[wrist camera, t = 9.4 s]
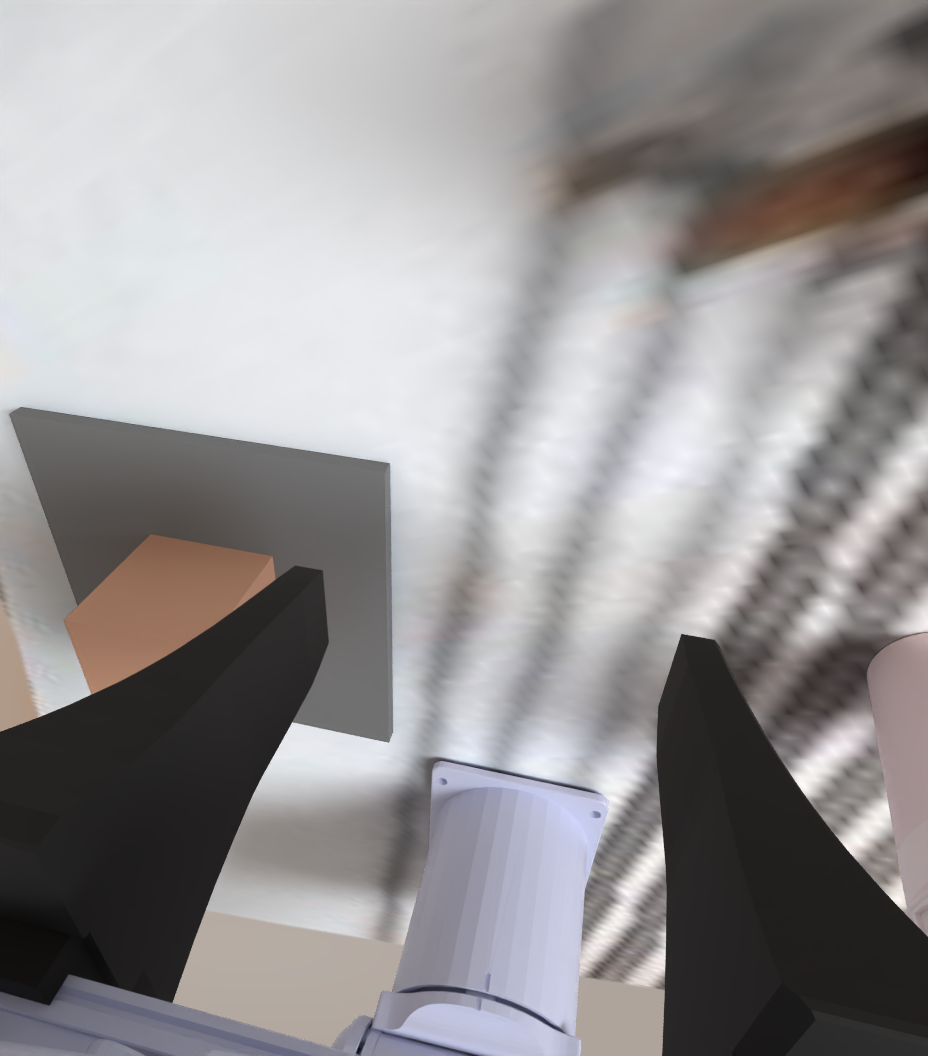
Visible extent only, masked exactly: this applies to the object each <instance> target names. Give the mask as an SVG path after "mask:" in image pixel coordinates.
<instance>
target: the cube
mask: <svg viewBox="0 0 928 1056" xmlns="http://www.w3.org/2000/svg"><path fill="white" fill-rule="evenodd" d="M274 580H276V579H275V571H274V563H273V556H269V555H263V554H257V553H252V552H246V551H241V550H235V549H230V548H224V547H219V546H213V545H208V544H202V543H197V542H191V541H186V540H180V539H175V538H169V537H164V536H158V535H153V534H151V535H150V536H149V537H148V538H147V539H146V540H145V541H143V542H142V543H141V544H140V545H139V546H138V547H137V548H136V549H135V550H134V551H133V552H132V553H131V554H130V555H129V556H128V557H127V558H126V559H125V560H124V561H123V562H122V563H121V564H120V565H119V566H118V567H117V568H116V569H115V570H114V571H113V572H112V573H111V574H110V575H109V576H108V577H107V578H106V579H105V580H104V581H103V582H102V583H101V584H100V585H99V586H98V587H97V588H96V589H95V590H94V591H93V592H92V593H91V594H90V595H89V596H88V597H87V598H86V599H85V600H84V601H82V602H81V603H80V604H79V605H78V606H77V607H76V608H75V609H74V610H73V611H72V612H71V613H70V614H69V615H68V616H67V617H66V618H65V619H64V622H65V625H66V627H67V630H68V633H69V635H70V638H71V641H72V643H73V646H74V649H75V651H76V654H77V657H78V659H79V662H80V665H81V667H82V670H83V673H84V676H85V678H86V681H87V684H88V686H89V689H90V692H91V694H94V693H96V692H98V691H100V690H102V689H105V688H107V687H109V686H111V685H113V684H115V683H117V682H119V681H121V680H123V679H125V678H127V677H129V676H131V675H133V674H135V673H137V672H138V671H140V670H142V669H144V668H146V667H148V666H149V665H151V664H153V663H155V662H156V661H158V660H160V659H162V658H163V657H165V656H167V655H168V654H170V653H172V652H173V651H175V650H177V649H178V648H180V647H181V646H183V645H184V644H186V643H187V642H189V641H190V640H192V639H193V638H195V637H196V636H198V635H200V634H201V633H203V632H204V631H206V630H207V629H209V628H210V627H212V626H213V625H214V624H216V623H217V622H219V621H220V620H221V619H223V618H224V617H226V616H227V615H228V614H230V613H231V612H233V611H234V610H235V609H237V608H238V607H240V606H241V605H242V604H244V603H245V602H246V601H248V600H249V599H250V598H252V597H253V596H254V595H256V594H257V593H258V592H260V591H261V590H262V589H264V588H265V587H266V586H268V585H269V584H270V583H272V582H273V581H274Z"/></svg>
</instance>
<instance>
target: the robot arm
mask: <svg viewBox="0 0 928 1056" xmlns="http://www.w3.org/2000/svg"><path fill="white" fill-rule="evenodd" d="M328 644H329V638H328V626H327V614H326V602H325V590H324V578H323V570H318V569H312V568H307V567H301V566H296V565H295V566H293V567H292V568H291V569H289V570H288V571H287V572H285V573H284V574H282V575H281V576H280V577H278V578H277V579H276V580H274V581H273V582H272V583H270V584H269V585H268V586H266V587H265V588H264V589H262V590H261V591H260V592H258V593H257V594H256V595H254V596H253V597H252V598H250V599H249V600H248V601H246V602H245V603H244V604H242V605H241V606H240V607H238V608H237V609H235V610H234V611H233V612H231V613H230V614H228V615H227V616H226V617H224V618H223V619H221V620H220V621H219V622H217V623H216V624H214V625H213V626H212V627H210V628H209V629H207V630H206V631H204V632H203V633H201V634H200V635H198V636H196V637H195V638H193V639H192V640H190V641H189V642H187V643H186V644H184V645H183V646H181V647H180V648H178V649H177V650H175V651H173V652H172V653H170V654H168V655H167V656H165V657H163V658H162V659H160V660H158V661H156V662H155V663H153V664H151V665H149V666H148V667H146V668H144V669H142V670H140V671H138V672H137V673H135V674H133V675H131V676H129V677H127V678H125V679H123V680H121V681H119V682H117V683H115V684H113V685H111V686H109V687H107V688H105V689H102V690H100V691H98V692H96V693H94V694H92V695H90V696H88V697H85V698H83V699H81V700H79V701H77V702H75V703H73V704H70V705H68V706H66V707H63V708H61V709H58V710H56V711H53V712H51V713H49V714H46V715H44V716H41V717H39V718H36V719H33V720H31V721H28V722H25V723H23V724H20V725H18V726H15V727H12V728H9V729H7V730H4V731H1V732H0V1056H580V1052H581V1040H580V1038H578V1037H575V1028H576V1013H577V998H578V982H579V967H580V952H581V937H582V922H583V907H584V892H585V887H586V883H587V880H588V877H589V873H590V870H591V867H592V863H593V860H594V856H595V853H596V850H597V846H598V843H599V840H600V836H601V833H602V829H603V826H604V823H605V819H606V816H607V813H608V807H609V801H608V799H607V798H606V797H604V796H603V795H600V794H596V793H591V792H586V791H581V790H577V789H572V788H567V787H563V786H558V785H553V784H549V783H544V782H539V781H534V780H530V779H525V778H520V777H516V776H511V775H506V774H502V773H497V772H492V771H487V770H483V769H478V768H473V767H469V766H464V765H459V764H455V763H450V762H445V761H439V762H436V763H435V764H434V766H433V769H432V780H431V804H430V828H429V853H428V857H427V861H426V864H425V868H424V872H423V876H422V880H421V883H420V887H419V891H418V895H417V898H416V902H415V906H414V910H413V914H412V917H411V921H410V925H409V929H408V933H407V936H406V940H405V944H404V948H403V951H402V956H401V959H400V963H399V967H398V971H397V974H396V978H395V982H394V986H393V989H392V992H389V991H382V992H381V994H380V998H379V1001H378V1005H377V1009H376V1012H375V1016H374V1019H373V1018H371V1017H368V1016H365V1015H362V1016H358V1017H357V1018H356V1019H355V1020H354V1021H353V1022H352V1024H351V1025H349V1026H348V1027H347V1028H346V1029H344V1030H343V1031H342V1032H341V1033H340V1034H339V1035H338V1037H337V1038H336V1040H335V1042H334V1043H333V1045H332V1047H328V1046H324V1045H321V1044H317V1043H314V1042H310V1041H306V1040H303V1039H299V1038H296V1037H292V1036H289V1035H285V1034H281V1033H277V1032H274V1031H271V1030H267V1029H263V1028H259V1027H256V1026H252V1025H249V1024H245V1023H242V1022H238V1021H235V1020H231V1019H227V1018H224V1017H220V1016H217V1015H213V1014H209V1013H206V1012H202V1011H199V1010H195V1009H191V1008H188V1007H184V1006H181V1005H177V1004H173V1003H172V1002H173V1000H174V997H175V994H176V991H177V988H178V985H179V982H180V979H181V977H182V974H183V971H184V968H185V965H186V962H187V959H188V957H189V953H190V951H191V948H192V945H193V942H194V939H195V937H196V934H197V932H198V929H199V926H200V923H201V921H202V918H203V915H204V913H205V910H206V908H207V905H208V902H209V900H210V897H211V894H212V892H213V889H214V887H215V884H216V882H217V879H218V877H219V874H220V872H221V869H222V867H223V864H224V862H225V859H226V857H227V854H228V852H229V849H230V847H231V844H232V842H233V840H234V837H235V835H236V833H237V830H238V828H239V826H240V823H241V821H242V819H243V816H244V814H245V812H246V809H247V807H248V805H249V802H250V800H251V798H252V796H253V794H254V792H255V790H256V788H257V786H258V784H259V782H260V780H261V778H262V776H263V774H264V772H265V770H266V768H267V767H268V765H269V763H270V761H271V759H272V758H273V756H274V754H275V752H276V750H277V749H278V747H279V745H280V743H281V741H282V740H283V738H284V736H285V734H286V732H287V731H288V729H289V727H290V725H291V723H292V722H293V720H294V718H295V716H296V714H297V713H298V711H299V709H300V707H301V705H302V703H303V702H304V700H305V698H306V696H307V694H308V692H309V690H310V689H311V687H312V685H313V682H314V680H315V677H316V675H317V672H318V670H319V668H320V665H321V662H322V660H323V657H324V654H325V652H326V649H327V646H328ZM657 768H658V781H659V793H660V805H661V817H662V828H663V840H664V852H665V864H666V884H667V914H666V966H665V1002H664V1026H663V1052H662V1056H928V936H927V935H926V934H925V933H924V932H923V931H922V930H921V929H920V928H919V927H918V926H917V925H916V924H915V923H914V922H913V921H912V920H911V919H910V918H909V917H908V916H907V915H906V914H905V913H904V912H903V911H902V910H901V909H900V908H899V907H898V906H897V905H896V904H895V903H894V902H893V901H892V900H891V899H890V898H889V896H888V895H887V894H886V893H885V892H884V891H883V890H882V889H881V888H880V887H879V885H878V884H877V883H876V882H875V881H874V880H873V879H872V878H871V876H870V875H869V874H868V873H867V872H866V871H865V870H864V869H863V867H862V866H861V865H860V864H859V863H858V862H857V861H856V860H855V858H854V857H853V856H852V855H851V854H850V853H849V852H848V851H847V849H846V848H845V847H844V846H843V844H842V843H841V842H840V841H839V839H838V838H837V837H836V836H835V834H834V833H833V832H832V831H831V830H830V828H829V827H828V826H827V824H826V823H825V822H824V820H823V819H822V818H821V816H820V815H819V814H818V812H817V811H816V810H815V809H814V807H813V806H812V805H811V803H810V802H809V800H808V799H807V798H806V796H805V795H804V793H803V792H802V791H801V789H800V788H799V786H798V785H797V783H796V782H795V780H794V779H793V777H792V776H791V774H790V773H789V771H788V770H787V768H786V767H785V765H784V764H783V762H782V761H781V759H780V758H779V756H778V754H777V753H776V751H775V750H774V748H773V746H772V745H771V743H770V742H769V740H768V738H767V736H766V735H765V733H764V731H763V730H762V728H761V726H760V724H759V723H758V721H757V719H756V717H755V716H754V714H753V712H752V711H751V709H750V707H749V705H748V703H747V701H746V700H745V698H744V696H743V694H742V692H741V690H740V688H739V686H738V684H737V682H736V680H735V678H734V676H733V674H732V672H731V670H730V668H729V666H728V664H727V662H726V660H725V658H724V656H723V654H722V652H721V649H720V647H719V645H718V644H717V643H716V641H715V640H712V639H706V638H701V637H695V636H689V635H684V634H681V637H680V641H679V644H678V647H677V650H676V653H675V656H674V659H673V662H672V666H671V669H670V672H669V675H668V678H667V681H666V684H665V687H664V690H663V694H662V697H661V700H660V703H659V706H658V727H657Z"/></svg>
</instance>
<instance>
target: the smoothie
mask: <svg viewBox="0 0 928 1056" xmlns="http://www.w3.org/2000/svg"><path fill="white" fill-rule="evenodd" d="M867 683H868V688H869V694H870V700H871V706H872V711H873V717H874V723H875V729H876V734H877V740H878V746H879V751H880V757H881V763H882V769H883V774H884V780H885V786H886V792H887V797H888V803H889V809H890V815H891V820H892V826H893V832H894V837H895V843H896V849H897V855H898V863H899V869H900V874H901V879H902V884H903V890H904V895H905V900H906V905H907V909H906V911H905V914H906V915H907V916H908V917H909V918H910V919H911V920H912V921H913V922H914V923H915V924H916V925H917V926H918V927H919V928H920V929H921V930H922V931H923V932H924V933H925V934H926V935H927V936H928V633H922V634H916V635H912V636H908V637H905V638H902V639H900V640H897V641H895V642H893V643H891V644H890V645H888V646H886V647H885V648H883V649H882V650H881V651H880V652H879V653H878V654H877V655H876V656H875V657H874V658H873V660H872V661H871V663H870V665H869V667H868V670H867Z"/></svg>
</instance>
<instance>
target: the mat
mask: <svg viewBox="0 0 928 1056" xmlns="http://www.w3.org/2000/svg"><path fill="white" fill-rule="evenodd" d="M9 415H10V418H11V421H12V423H13V426H14V429H15V432H16V435H17V437H18V440H19V443H20V446H21V448H22V451H23V454H24V457H25V460H26V462H27V465H28V468H29V471H30V474H31V476H32V479H33V482H34V485H35V488H36V490H37V493H38V496H39V499H40V501H41V504H42V507H43V510H44V513H45V515H46V518H47V521H48V524H49V527H50V529H51V532H52V535H53V538H54V541H55V543H56V546H57V549H58V552H59V554H60V557H61V560H62V563H63V566H64V568H65V571H66V574H67V577H68V580H69V582H70V585H71V588H72V591H73V594H74V596H75V599H76V602H77V605H79V604H80V603H81V602H82V601H84V600H85V599H86V598H87V597H88V596H89V595H90V594H91V593H92V592H93V591H94V590H95V589H96V588H97V587H98V586H99V585H100V584H101V583H102V582H103V581H104V580H105V579H106V578H107V577H108V576H109V575H110V574H111V573H112V572H113V571H114V570H115V569H116V568H117V567H118V566H119V565H120V564H121V563H122V562H123V561H124V560H125V559H126V558H127V557H128V556H129V555H130V554H131V553H132V552H133V551H134V550H135V549H136V548H137V547H138V546H139V545H140V544H141V543H142V542H143V541H145V540H146V539H147V538H148V537H149V536H150V535H151V534H153V535H158V536H164V537H169V538H175V539H180V540H186V541H191V542H197V543H202V544H208V545H213V546H219V547H224V548H230V549H235V550H241V551H246V552H252V553H257V554H263V555H269V556H273V563H274V571H275V579H277V578H278V577H280V576H281V575H282V574H284V573H285V572H287V571H288V570H289V569H291V568H292V567H293V566H295V565H296V566H301V567H307V568H312V569H318V570H323V578H324V590H325V602H326V614H327V626H328V638H329V644H328V646H327V649H326V652H325V654H324V657H323V660H322V662H321V665H320V668H319V670H318V672H317V675H316V677H315V680H314V682H313V685H312V687H311V689H310V690H309V692H308V694H307V696H306V698H305V700H304V702H303V703H302V705H301V707H300V709H299V711H298V713H297V714H296V716H295V718H294V720H293V722H294V723H299V724H303V725H308V726H313V727H318V728H322V729H327V730H332V731H336V732H341V733H346V734H351V735H355V736H360V737H365V738H370V739H374V740H379V741H384V742H389V741H390V738H391V736H392V733H393V698H392V606H391V515H390V464H389V463H383V462H376V461H370V460H363V459H356V458H350V457H343V456H337V455H330V454H324V453H317V452H311V451H304V450H298V449H291V448H285V447H278V446H272V445H265V444H258V443H252V442H245V441H239V440H232V439H226V438H219V437H213V436H206V435H200V434H193V433H187V432H180V431H173V430H167V429H160V428H154V427H147V426H141V425H134V424H128V423H121V422H115V421H108V420H102V419H95V418H88V417H82V416H75V415H69V414H62V413H56V412H49V411H43V410H36V409H30V408H23V407H21V408H19V409H17V410H16V411H14V412H12V413H10V414H9Z"/></svg>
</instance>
